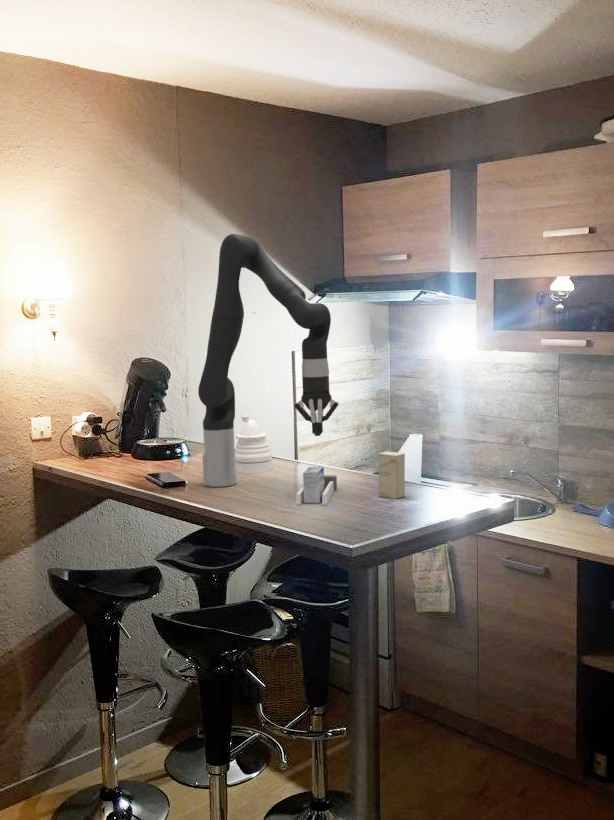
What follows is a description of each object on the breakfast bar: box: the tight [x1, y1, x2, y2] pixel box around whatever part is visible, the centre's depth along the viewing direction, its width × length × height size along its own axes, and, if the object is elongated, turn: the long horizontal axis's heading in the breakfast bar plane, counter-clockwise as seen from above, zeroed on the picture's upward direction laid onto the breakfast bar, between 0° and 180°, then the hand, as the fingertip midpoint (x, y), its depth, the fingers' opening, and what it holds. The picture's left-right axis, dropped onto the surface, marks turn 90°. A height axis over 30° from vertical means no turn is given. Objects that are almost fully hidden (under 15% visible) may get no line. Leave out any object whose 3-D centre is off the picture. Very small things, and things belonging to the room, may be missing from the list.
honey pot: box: [235, 415, 274, 475], centre depth 278 cm, size 13×13×18 cm
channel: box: [296, 474, 338, 506], centre depth 236 cm, size 9×20×4 cm, turn 171°
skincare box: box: [378, 451, 406, 500], centre depth 232 cm, size 6×4×12 cm
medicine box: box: [302, 466, 325, 504], centre depth 231 cm, size 8×4×9 cm, turn 168°
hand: (317, 435), depth 239 cm, fingers closed
